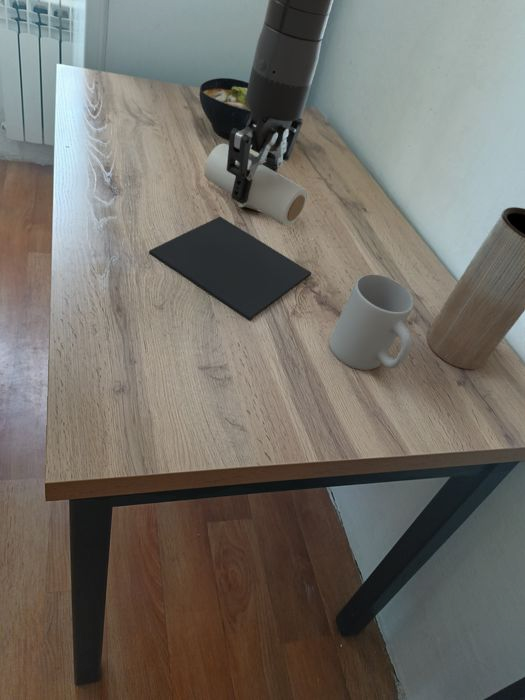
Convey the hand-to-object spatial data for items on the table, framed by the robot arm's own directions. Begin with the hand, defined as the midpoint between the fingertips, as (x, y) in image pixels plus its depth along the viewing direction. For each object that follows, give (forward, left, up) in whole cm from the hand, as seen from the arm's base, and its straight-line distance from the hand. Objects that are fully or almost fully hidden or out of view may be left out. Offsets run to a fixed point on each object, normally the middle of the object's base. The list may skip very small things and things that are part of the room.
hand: (251, 194), depth 77 cm
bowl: (-33, +43, -14) cm, 56 cm away
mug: (+25, 0, -14) cm, 29 cm away
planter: (+35, +15, -14) cm, 40 cm away
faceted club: (-15, +27, -14) cm, 34 cm away
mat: (-1, +2, -14) cm, 14 cm away
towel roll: (0, 0, -1) cm, 1 cm away
